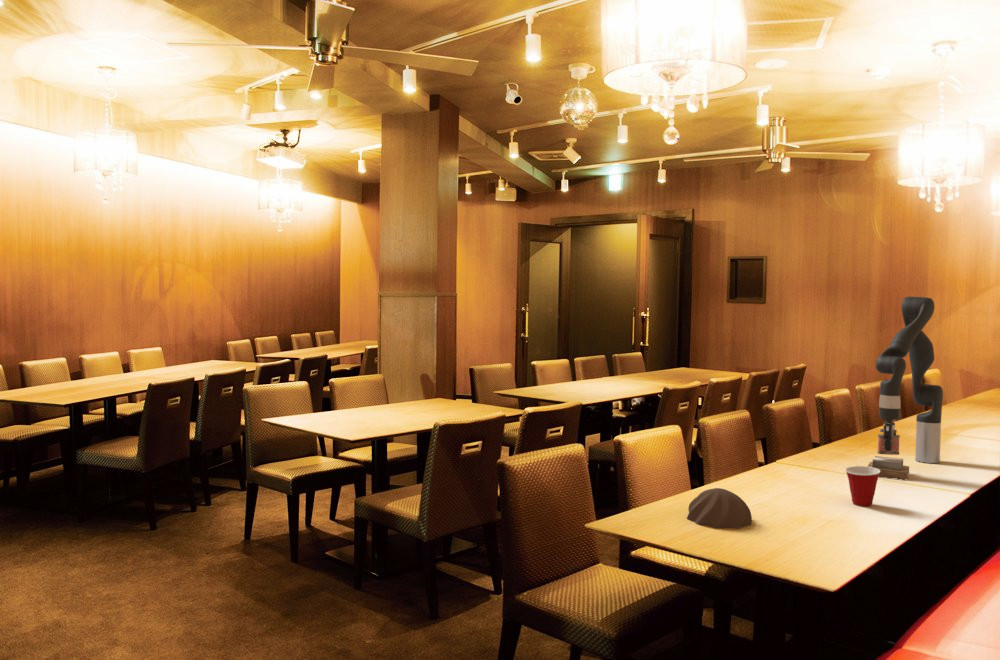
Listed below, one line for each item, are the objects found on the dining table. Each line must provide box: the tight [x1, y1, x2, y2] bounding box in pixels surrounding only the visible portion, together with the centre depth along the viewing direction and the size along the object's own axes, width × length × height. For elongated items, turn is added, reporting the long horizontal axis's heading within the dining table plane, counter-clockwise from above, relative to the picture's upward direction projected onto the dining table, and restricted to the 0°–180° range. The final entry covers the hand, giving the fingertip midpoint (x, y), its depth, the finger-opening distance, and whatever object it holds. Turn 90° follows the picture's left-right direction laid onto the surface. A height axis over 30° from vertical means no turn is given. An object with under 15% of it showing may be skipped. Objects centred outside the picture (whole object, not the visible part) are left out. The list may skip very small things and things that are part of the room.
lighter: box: [876, 428, 901, 456], centre depth 294 cm, size 8×3×10 cm, turn 84°
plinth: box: [866, 455, 910, 480], centre depth 295 cm, size 14×14×6 cm
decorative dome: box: [686, 487, 753, 530], centre depth 229 cm, size 19×20×10 cm
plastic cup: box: [844, 465, 880, 507], centre depth 249 cm, size 11×11×12 cm
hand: (888, 449), depth 294 cm, fingers closed on lighter, 4 cm apart
